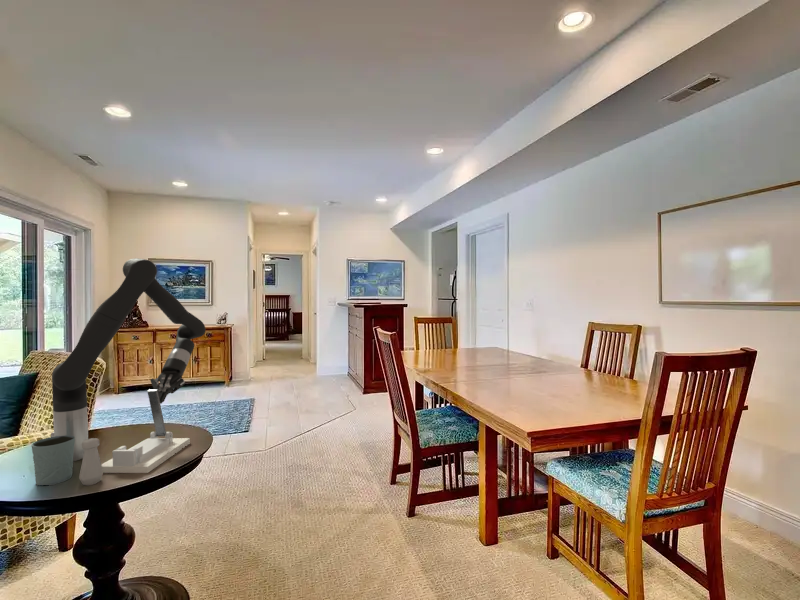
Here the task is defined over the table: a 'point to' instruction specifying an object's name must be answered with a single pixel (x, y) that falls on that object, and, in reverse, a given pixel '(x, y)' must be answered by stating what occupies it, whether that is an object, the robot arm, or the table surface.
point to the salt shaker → (90, 463)
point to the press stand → (144, 454)
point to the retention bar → (156, 412)
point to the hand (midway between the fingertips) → (158, 402)
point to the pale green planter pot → (53, 459)
